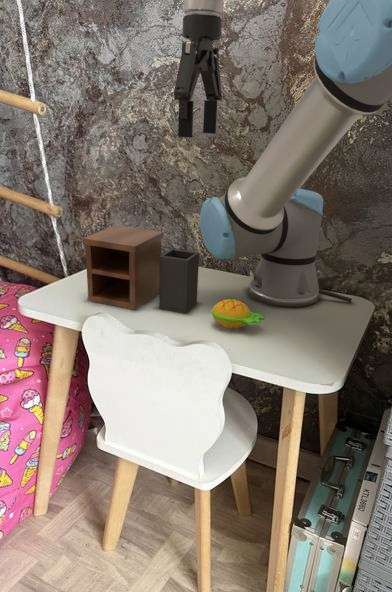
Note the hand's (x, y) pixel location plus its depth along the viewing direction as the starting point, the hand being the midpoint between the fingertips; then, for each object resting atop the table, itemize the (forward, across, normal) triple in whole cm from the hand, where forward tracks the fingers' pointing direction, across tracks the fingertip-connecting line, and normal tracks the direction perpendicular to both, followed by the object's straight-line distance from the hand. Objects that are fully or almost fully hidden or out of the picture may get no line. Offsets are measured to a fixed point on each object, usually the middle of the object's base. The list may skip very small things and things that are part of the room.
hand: (197, 135), depth 109 cm
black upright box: (+32, +17, +4) cm, 36 cm away
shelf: (+32, +17, -8) cm, 37 cm away
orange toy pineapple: (+32, +22, +18) cm, 43 cm away
